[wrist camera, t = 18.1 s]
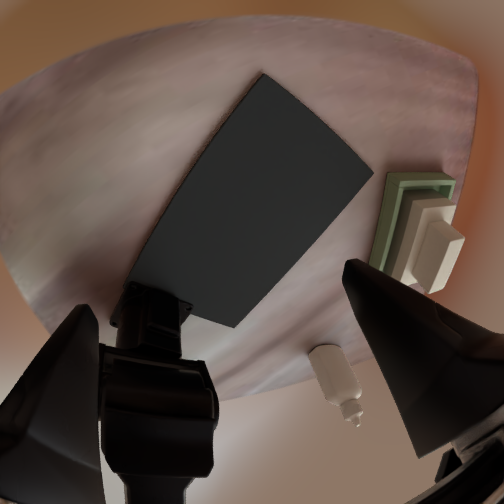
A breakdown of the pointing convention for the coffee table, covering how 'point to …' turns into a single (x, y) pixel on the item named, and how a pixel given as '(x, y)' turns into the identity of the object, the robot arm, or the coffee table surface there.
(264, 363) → the coffee table surface
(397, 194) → the tray
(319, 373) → the eye dropper bottle
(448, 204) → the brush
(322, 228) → the mat
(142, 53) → the coffee table surface
